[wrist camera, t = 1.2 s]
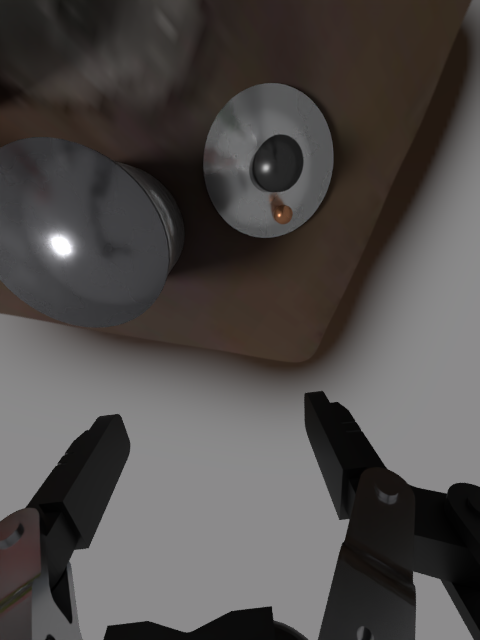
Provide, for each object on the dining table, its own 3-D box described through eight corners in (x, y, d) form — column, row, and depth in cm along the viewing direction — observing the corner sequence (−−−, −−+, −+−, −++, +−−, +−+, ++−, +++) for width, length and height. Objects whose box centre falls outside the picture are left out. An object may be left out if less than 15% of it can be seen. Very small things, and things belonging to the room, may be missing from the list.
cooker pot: (39, 189, 25) (-81, 187, 15) (151, 138, 23) (101, 98, 14) (111, 298, 30) (59, 347, 21) (205, 261, 29) (197, 295, 19)
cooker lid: (181, 123, 23) (169, 100, 18) (314, 62, 22) (345, 17, 16) (231, 252, 29) (233, 266, 24) (338, 211, 28) (367, 215, 22)
